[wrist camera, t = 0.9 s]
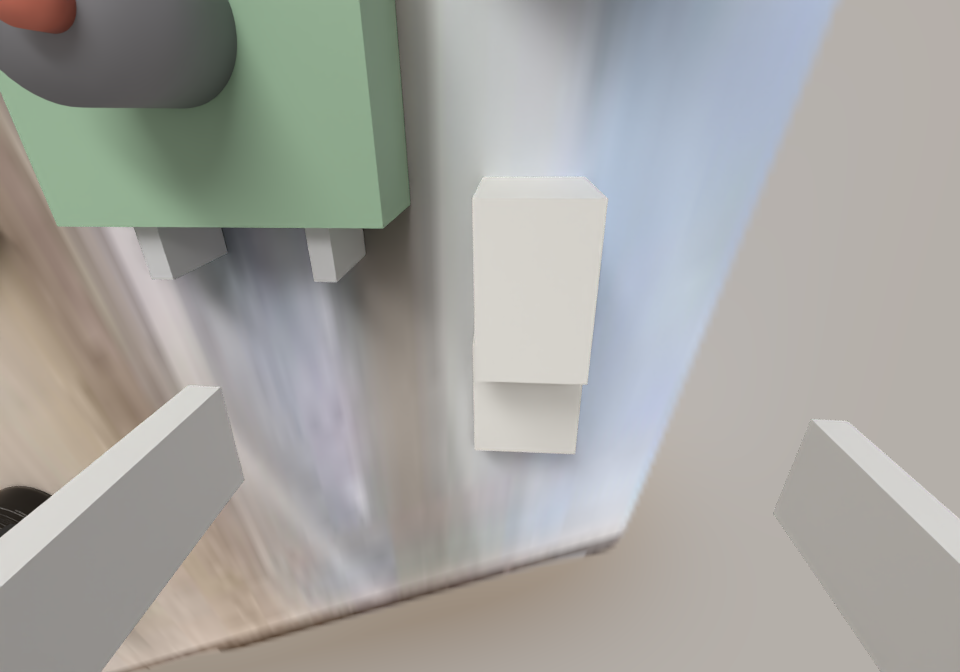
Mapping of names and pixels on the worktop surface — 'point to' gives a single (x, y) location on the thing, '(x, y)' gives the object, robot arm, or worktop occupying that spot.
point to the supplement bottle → (19, 503)
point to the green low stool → (211, 120)
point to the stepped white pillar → (533, 308)
